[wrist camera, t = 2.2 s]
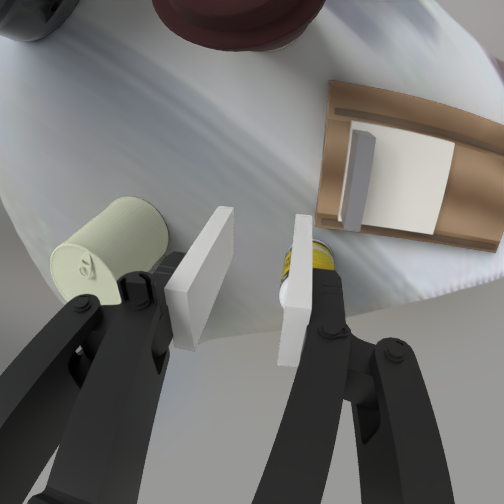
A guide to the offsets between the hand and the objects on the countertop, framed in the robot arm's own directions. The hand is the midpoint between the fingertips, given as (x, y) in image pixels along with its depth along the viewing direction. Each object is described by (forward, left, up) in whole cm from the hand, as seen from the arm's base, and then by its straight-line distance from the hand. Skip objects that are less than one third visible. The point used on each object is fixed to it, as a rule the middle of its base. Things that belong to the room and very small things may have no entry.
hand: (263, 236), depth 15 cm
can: (+10, -18, -17) cm, 26 cm away
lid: (0, +10, -14) cm, 18 cm away
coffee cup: (-14, -2, -17) cm, 22 cm away
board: (-1, +14, -17) cm, 22 cm away
